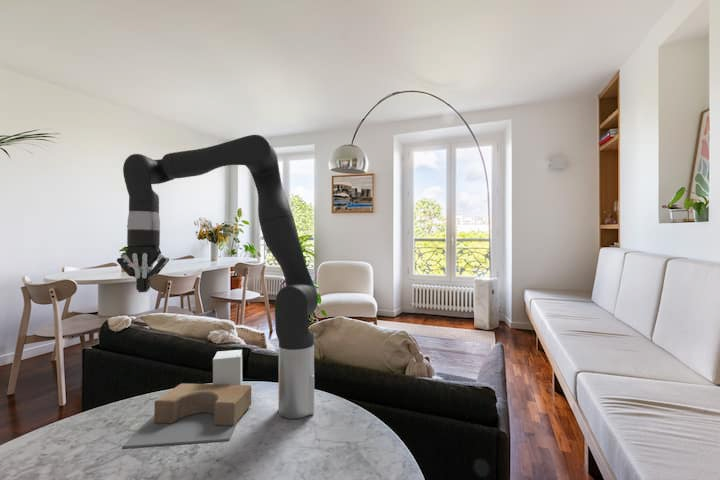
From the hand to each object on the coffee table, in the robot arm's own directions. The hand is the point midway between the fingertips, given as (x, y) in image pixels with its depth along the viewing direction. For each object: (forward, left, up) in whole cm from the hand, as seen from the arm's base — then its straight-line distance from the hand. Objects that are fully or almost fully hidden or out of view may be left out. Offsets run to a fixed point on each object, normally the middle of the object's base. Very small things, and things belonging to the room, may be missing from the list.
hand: (143, 291), depth 92 cm
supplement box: (-22, -2, -31) cm, 38 cm away
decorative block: (-9, +6, -28) cm, 30 cm away
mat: (-17, +12, -31) cm, 37 cm away
